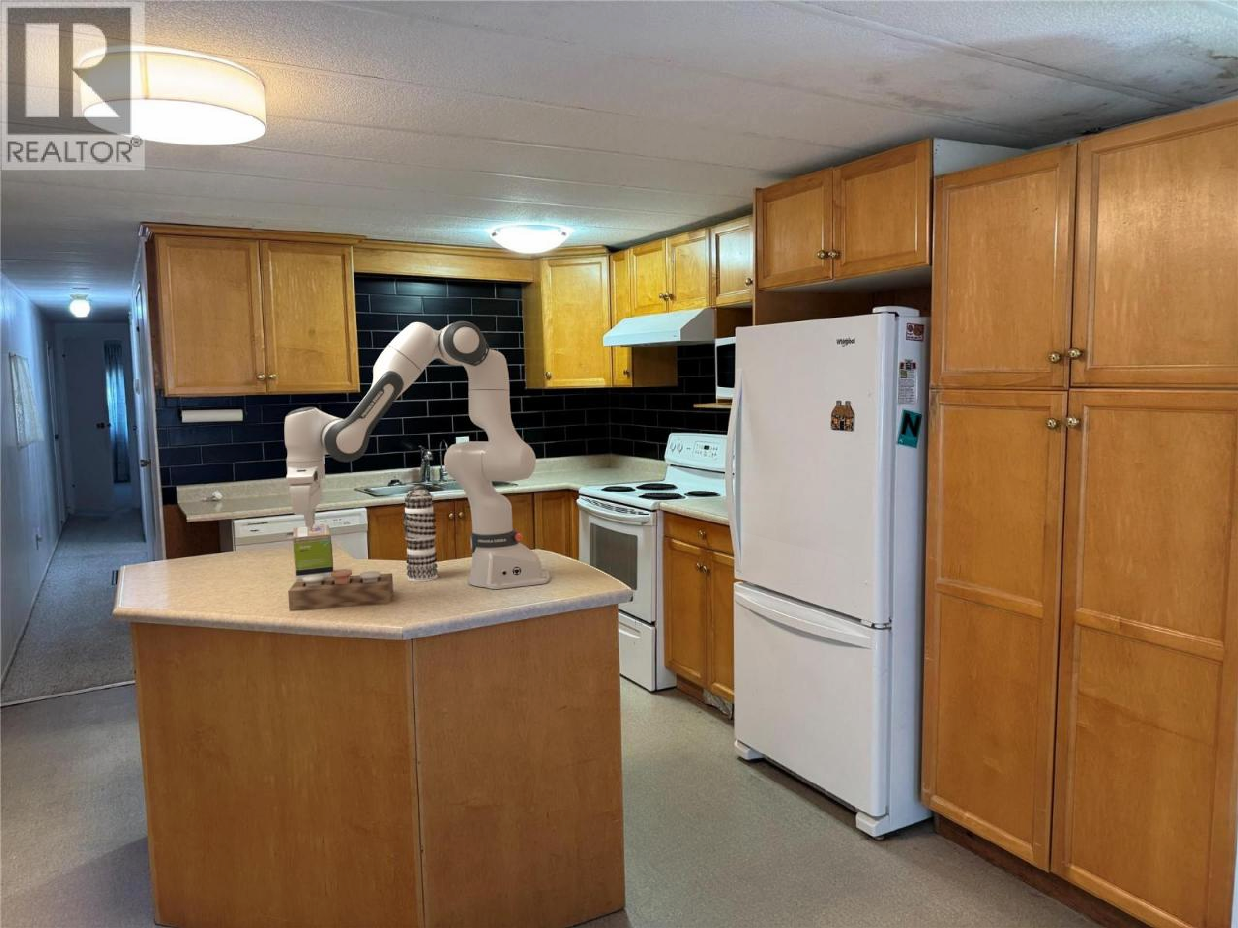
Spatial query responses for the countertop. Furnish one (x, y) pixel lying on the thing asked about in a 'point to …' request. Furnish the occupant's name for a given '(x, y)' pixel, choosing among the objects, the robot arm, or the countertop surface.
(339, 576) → the terracotta plug
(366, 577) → the grey plug
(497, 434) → the robot arm
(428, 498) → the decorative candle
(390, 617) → the countertop surface
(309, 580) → the grey plug
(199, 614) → the countertop surface
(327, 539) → the tea box
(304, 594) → the socket board
